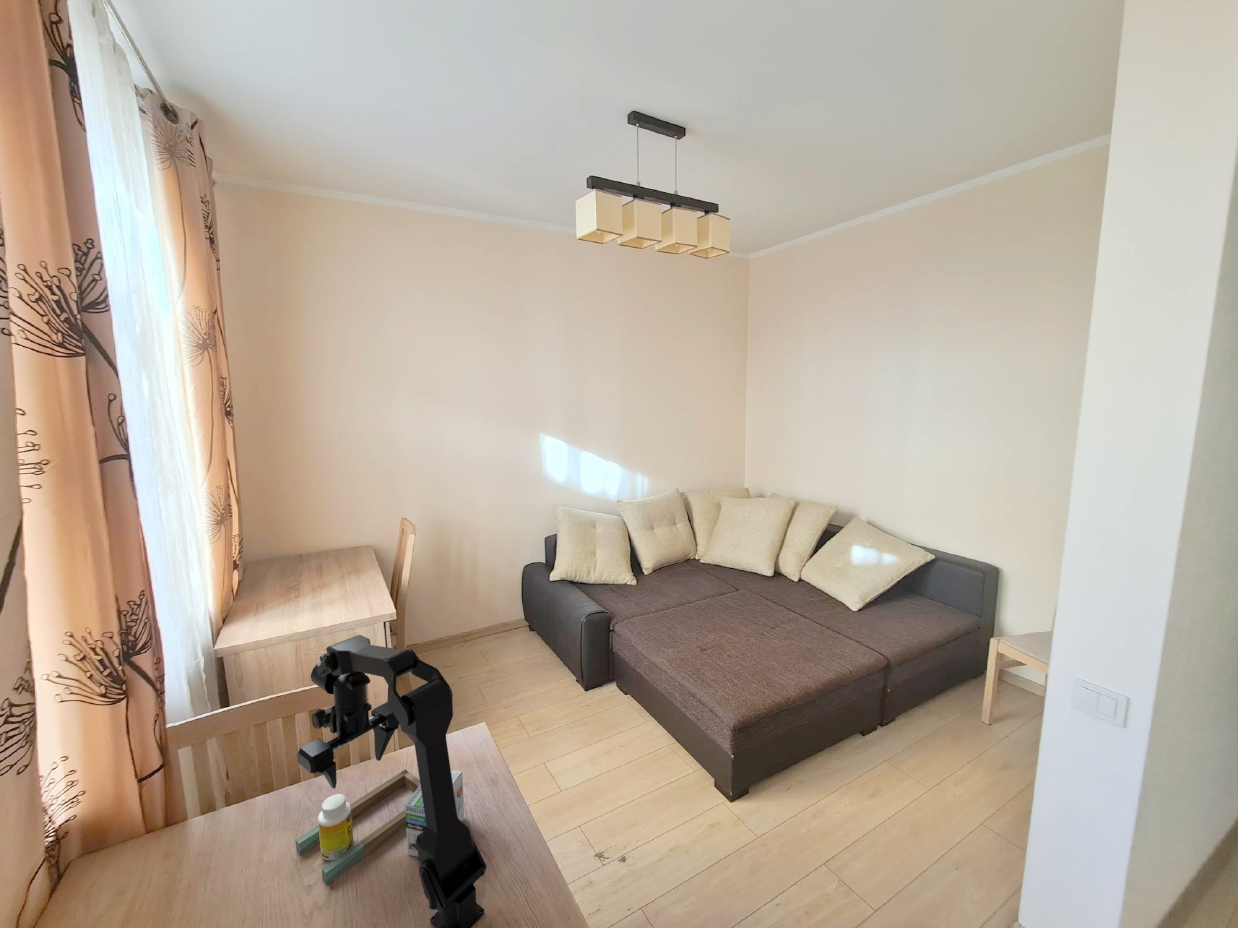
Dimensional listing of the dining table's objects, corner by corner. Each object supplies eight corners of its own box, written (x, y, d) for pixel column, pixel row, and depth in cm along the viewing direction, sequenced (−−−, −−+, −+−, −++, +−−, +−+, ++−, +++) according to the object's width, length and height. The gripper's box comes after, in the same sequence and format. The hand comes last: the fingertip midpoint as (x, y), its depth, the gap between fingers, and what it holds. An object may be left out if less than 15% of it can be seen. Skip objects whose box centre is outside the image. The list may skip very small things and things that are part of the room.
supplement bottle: (354, 854, 99) (350, 806, 97) (321, 866, 96) (316, 817, 95) (353, 832, 104) (349, 786, 102) (321, 844, 101) (317, 797, 100)
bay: (437, 803, 111) (437, 792, 111) (326, 885, 93) (325, 872, 92) (405, 779, 118) (405, 769, 118) (296, 851, 99) (295, 839, 99)
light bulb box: (438, 862, 97) (435, 810, 96) (406, 855, 98) (402, 805, 97) (465, 816, 108) (463, 769, 106) (436, 811, 109) (434, 765, 107)
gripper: (373, 667, 113) (377, 733, 115) (279, 710, 98) (286, 785, 100) (403, 683, 107) (407, 752, 109) (308, 732, 92) (315, 811, 94)
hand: (356, 773), depth 103 cm, fingers open, 9 cm apart
